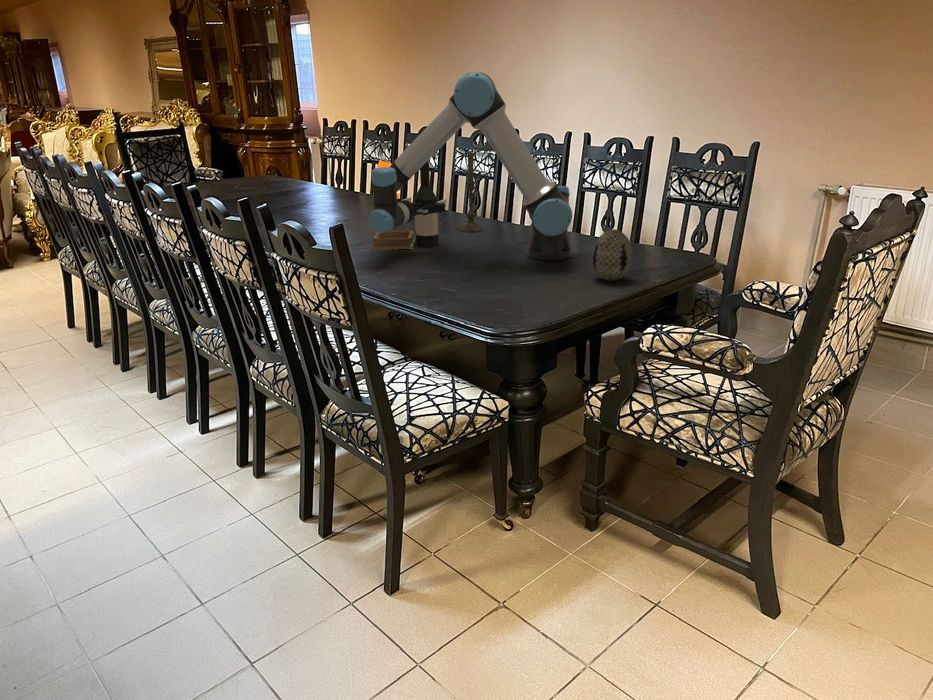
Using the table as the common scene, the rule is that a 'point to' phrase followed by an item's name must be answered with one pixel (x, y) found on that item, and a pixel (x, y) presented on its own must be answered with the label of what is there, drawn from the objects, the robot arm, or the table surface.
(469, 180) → the candlestick holder
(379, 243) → the wooden crate
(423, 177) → the wine bottle
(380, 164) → the orange juice
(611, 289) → the table surface
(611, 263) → the decorative egg
